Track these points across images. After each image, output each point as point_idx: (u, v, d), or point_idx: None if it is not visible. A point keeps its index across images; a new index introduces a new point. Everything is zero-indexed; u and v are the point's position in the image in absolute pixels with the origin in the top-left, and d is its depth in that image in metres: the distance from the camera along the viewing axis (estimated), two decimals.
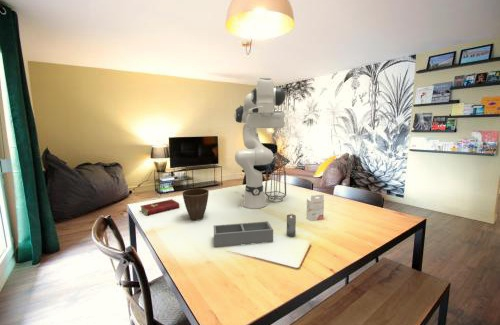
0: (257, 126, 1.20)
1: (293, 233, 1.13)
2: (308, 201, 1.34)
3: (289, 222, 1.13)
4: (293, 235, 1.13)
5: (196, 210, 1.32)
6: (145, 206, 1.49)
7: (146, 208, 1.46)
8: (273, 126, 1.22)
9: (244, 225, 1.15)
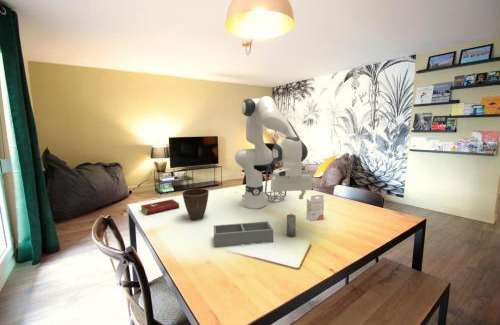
0: (284, 190, 1.09)
1: (293, 233, 1.13)
2: (308, 201, 1.34)
3: (289, 222, 1.13)
4: (293, 235, 1.13)
5: (196, 210, 1.32)
6: (145, 206, 1.50)
7: (146, 208, 1.46)
8: (301, 189, 1.11)
9: (244, 225, 1.15)
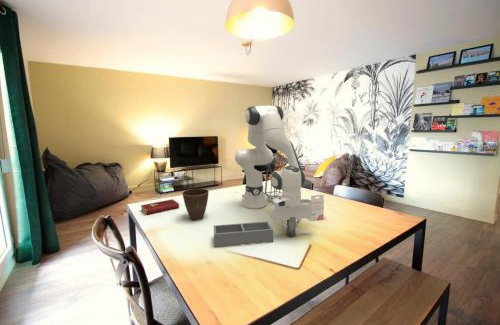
0: (283, 218, 1.11)
1: (293, 233, 1.13)
2: None
3: (289, 222, 1.13)
4: (293, 235, 1.13)
5: (196, 210, 1.32)
6: (145, 206, 1.50)
7: (145, 208, 1.46)
8: (300, 217, 1.13)
9: (244, 225, 1.15)
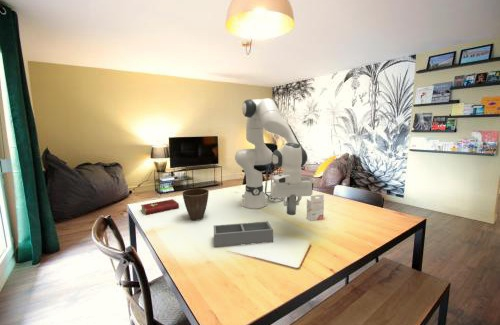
0: (283, 196, 1.10)
1: (293, 211, 1.12)
2: (308, 201, 1.34)
3: (289, 200, 1.11)
4: (293, 213, 1.12)
5: (196, 210, 1.32)
6: (145, 205, 1.51)
7: (145, 207, 1.47)
8: (300, 195, 1.11)
9: (244, 225, 1.15)
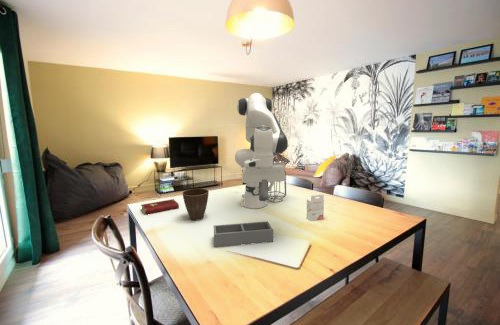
0: (254, 181, 1.06)
1: (265, 197, 1.08)
2: (308, 201, 1.34)
3: (260, 185, 1.07)
4: (265, 199, 1.08)
5: (196, 210, 1.32)
6: (145, 205, 1.51)
7: (145, 207, 1.47)
8: (272, 180, 1.08)
9: (244, 225, 1.15)
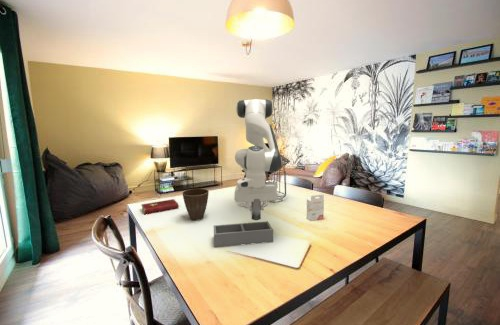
0: (247, 200, 1.07)
1: (258, 216, 1.09)
2: (308, 201, 1.34)
3: (253, 205, 1.08)
4: (258, 218, 1.09)
5: (196, 210, 1.32)
6: (145, 205, 1.52)
7: (145, 207, 1.48)
8: (265, 199, 1.08)
9: (244, 225, 1.15)
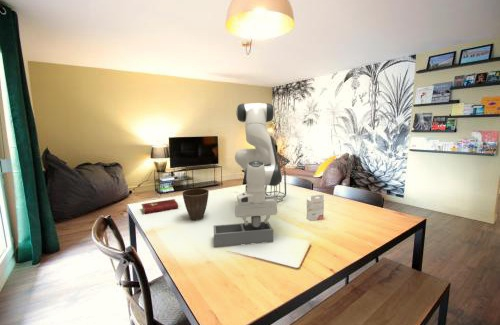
0: (247, 215, 1.08)
1: None
2: (308, 201, 1.34)
3: (253, 223, 1.09)
4: None
5: (196, 210, 1.32)
6: (145, 204, 1.52)
7: (144, 207, 1.48)
8: (265, 214, 1.10)
9: (244, 225, 1.15)
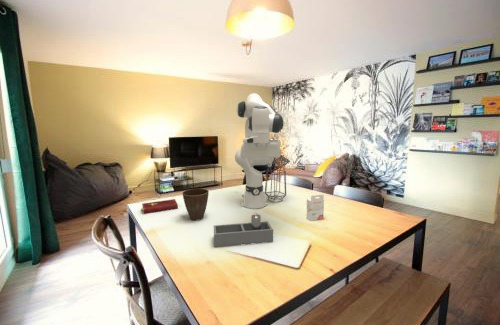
0: (252, 156, 1.15)
1: None
2: (308, 201, 1.34)
3: (253, 223, 1.09)
4: None
5: (196, 210, 1.32)
6: (145, 204, 1.53)
7: (144, 206, 1.49)
8: (269, 156, 1.16)
9: (244, 225, 1.15)
